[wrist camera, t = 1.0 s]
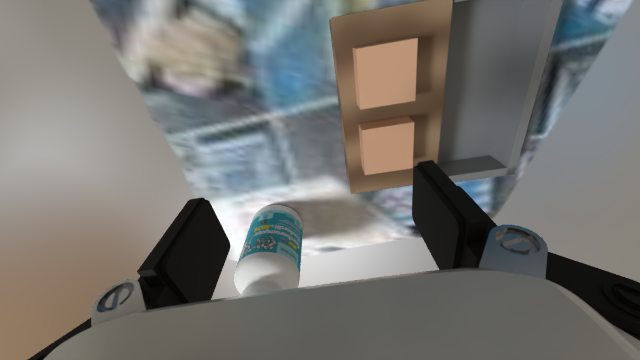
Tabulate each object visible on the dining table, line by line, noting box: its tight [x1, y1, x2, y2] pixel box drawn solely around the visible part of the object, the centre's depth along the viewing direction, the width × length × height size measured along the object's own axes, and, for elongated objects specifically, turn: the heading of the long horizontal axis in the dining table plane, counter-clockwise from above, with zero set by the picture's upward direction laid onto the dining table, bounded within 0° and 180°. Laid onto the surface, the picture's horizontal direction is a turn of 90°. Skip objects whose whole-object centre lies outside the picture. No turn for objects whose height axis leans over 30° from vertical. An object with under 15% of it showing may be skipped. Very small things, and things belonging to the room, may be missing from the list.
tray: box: [437, 0, 563, 183], centre depth 26 cm, size 19×9×4 cm, turn 9°
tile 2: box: [353, 38, 418, 110], centre depth 22 cm, size 5×5×2 cm
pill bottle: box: [234, 205, 303, 296], centre depth 31 cm, size 8×7×14 cm
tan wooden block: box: [329, 0, 453, 194], centre depth 27 cm, size 18×10×4 cm, turn 9°
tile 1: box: [359, 116, 414, 175], centre depth 26 cm, size 5×5×2 cm
